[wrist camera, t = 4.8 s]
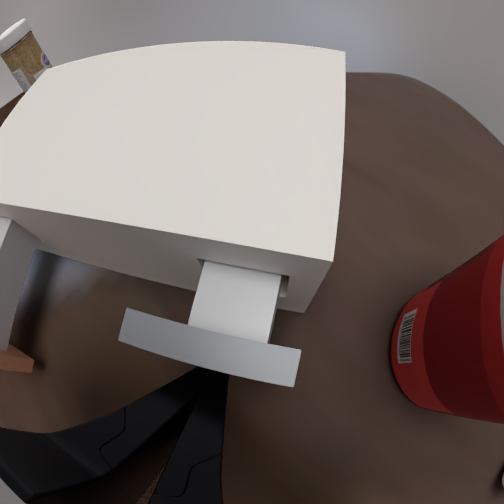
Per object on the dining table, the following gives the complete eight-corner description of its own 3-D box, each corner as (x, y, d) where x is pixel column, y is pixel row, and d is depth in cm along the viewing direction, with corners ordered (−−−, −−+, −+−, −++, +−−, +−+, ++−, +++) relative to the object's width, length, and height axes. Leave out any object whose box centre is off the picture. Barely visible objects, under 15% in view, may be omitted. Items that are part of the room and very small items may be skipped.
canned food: (418, 432, 14) (543, 471, 3) (362, 330, 16) (473, 276, 6) (494, 360, 14) (614, 332, 4) (446, 268, 17) (552, 182, 7)
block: (304, 313, 17) (333, 261, 9) (33, 247, 20) (-39, 196, 12) (327, 152, 21) (345, 51, 13) (89, 135, 24) (46, 69, 16)
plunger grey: (283, 375, 14) (293, 387, 7) (190, 353, 15) (117, 340, 8) (320, 155, 19) (336, 57, 12) (248, 145, 20) (236, 47, 12)
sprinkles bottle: (73, 102, 27) (24, 19, 15) (43, 124, 26) (-11, 47, 14) (68, 89, 29) (25, 14, 16) (40, 109, 28) (-7, 39, 15)
